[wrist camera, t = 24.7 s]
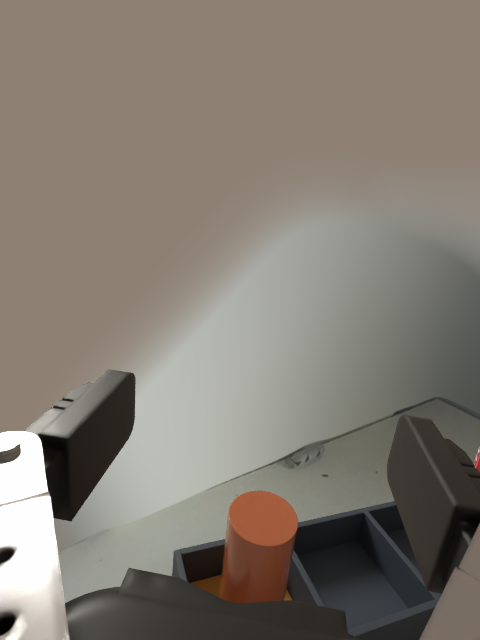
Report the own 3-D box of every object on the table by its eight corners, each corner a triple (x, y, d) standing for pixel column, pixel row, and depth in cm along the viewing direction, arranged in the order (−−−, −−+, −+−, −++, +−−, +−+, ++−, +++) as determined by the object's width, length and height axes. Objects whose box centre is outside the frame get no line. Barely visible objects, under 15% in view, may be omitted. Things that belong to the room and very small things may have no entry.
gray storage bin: (199, 733, 27) (203, 691, 26) (171, 586, 37) (173, 550, 36) (512, 607, 38) (527, 573, 37) (426, 520, 48) (435, 491, 47)
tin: (227, 670, 30) (242, 553, 27) (208, 602, 35) (219, 496, 31) (289, 648, 32) (311, 537, 28) (263, 587, 37) (279, 485, 33)
